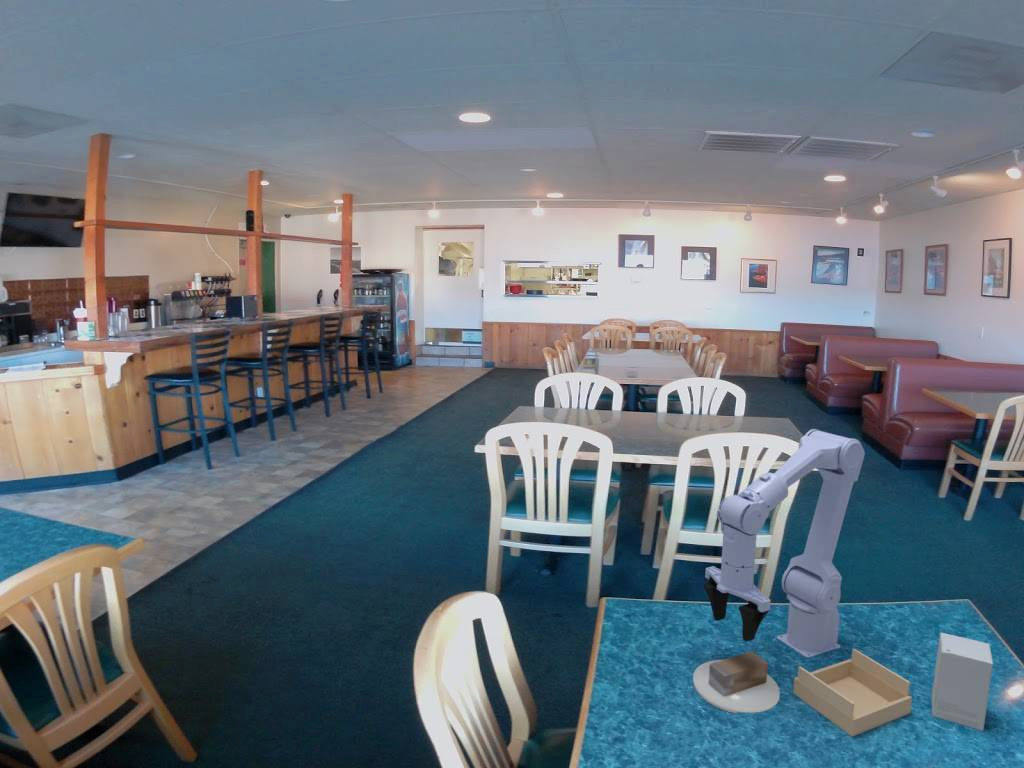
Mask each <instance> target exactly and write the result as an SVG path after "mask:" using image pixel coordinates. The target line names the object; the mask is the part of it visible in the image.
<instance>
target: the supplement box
mask: <svg viewBox="0 0 1024 768" xmlns="http://www.w3.org/2000/svg"><path fill="white" fill-rule="evenodd" d="M937 645H938V646H937V654H936V660H935V661H936V662H935V669H934V677H933V684H932V690H931V712H932V716H933V717H936V718H938V719H942V720H945V721H949V722H952V723H956V724H959V725H962V726H965V727H969V728H973V729H976V730H980V731H984V729H985V721H986V715H987V708H988V700H989V694H990V689H991V688H990V686H991V680H992V675H993V674H992V673H993V666H994V661H993V657H992V651H991V646H990V643H987V642H982V641H979V640H976V639H971V638H967V637H961V636H958V635H953V634H949V633H945V632H940V633H939V639H938V644H937Z"/></svg>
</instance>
